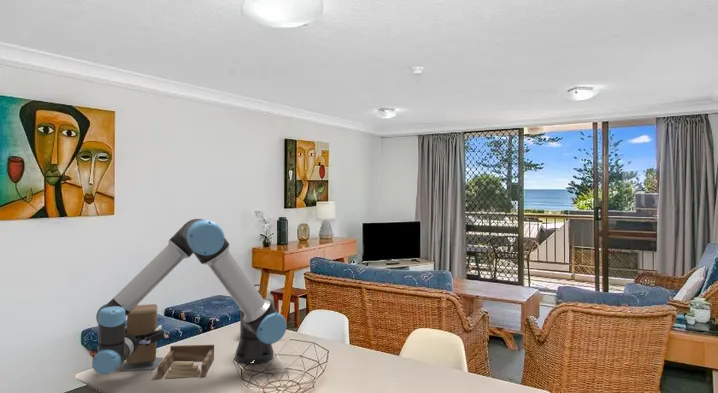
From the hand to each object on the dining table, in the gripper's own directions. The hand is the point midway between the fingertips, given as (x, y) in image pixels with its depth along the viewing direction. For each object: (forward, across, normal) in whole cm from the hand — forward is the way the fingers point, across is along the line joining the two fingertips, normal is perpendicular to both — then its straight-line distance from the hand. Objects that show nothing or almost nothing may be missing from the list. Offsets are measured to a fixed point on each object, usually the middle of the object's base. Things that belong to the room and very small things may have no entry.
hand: (144, 329), depth 174 cm
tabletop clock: (+27, +41, -13) cm, 51 cm away
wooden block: (-2, 0, -11) cm, 11 cm away
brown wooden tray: (-8, +18, -13) cm, 24 cm away
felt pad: (-2, 0, -13) cm, 13 cm away
